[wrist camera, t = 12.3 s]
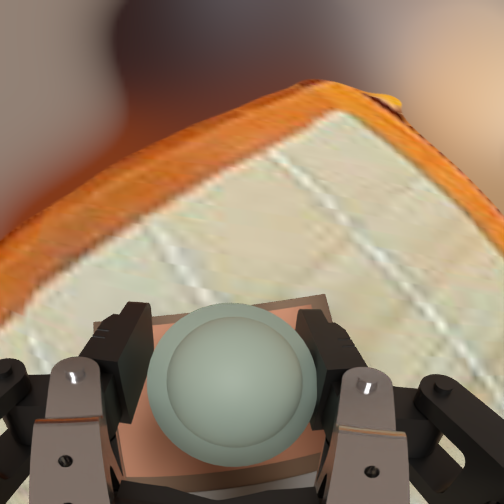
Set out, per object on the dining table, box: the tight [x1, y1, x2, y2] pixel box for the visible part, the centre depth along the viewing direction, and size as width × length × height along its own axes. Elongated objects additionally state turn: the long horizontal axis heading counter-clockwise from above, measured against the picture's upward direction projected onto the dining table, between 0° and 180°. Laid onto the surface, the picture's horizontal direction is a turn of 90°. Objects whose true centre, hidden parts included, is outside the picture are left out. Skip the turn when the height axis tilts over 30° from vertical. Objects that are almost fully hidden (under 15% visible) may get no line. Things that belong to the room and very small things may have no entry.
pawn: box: [147, 303, 317, 467], centre depth 10 cm, size 6×6×10 cm
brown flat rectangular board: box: [93, 294, 333, 500], centre depth 13 cm, size 13×18×1 cm
